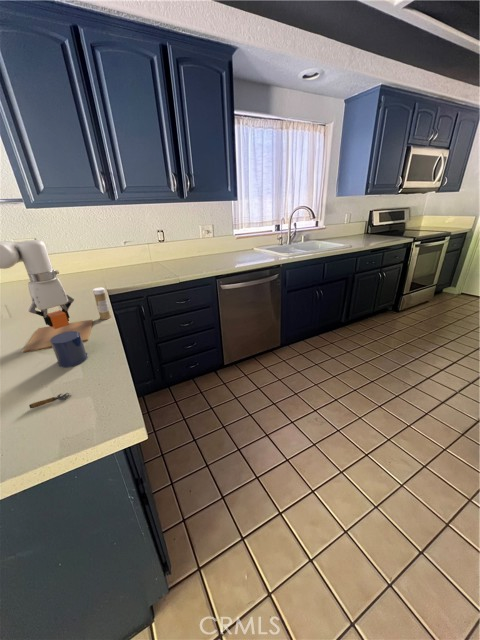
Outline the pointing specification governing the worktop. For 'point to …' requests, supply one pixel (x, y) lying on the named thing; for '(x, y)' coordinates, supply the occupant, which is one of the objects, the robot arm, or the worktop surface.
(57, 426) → the worktop surface
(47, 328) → the wooden cutting board
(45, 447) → the worktop surface
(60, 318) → the orange block
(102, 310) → the sprinkles bottle
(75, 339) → the navy cup
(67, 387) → the worktop surface
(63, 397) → the fork
